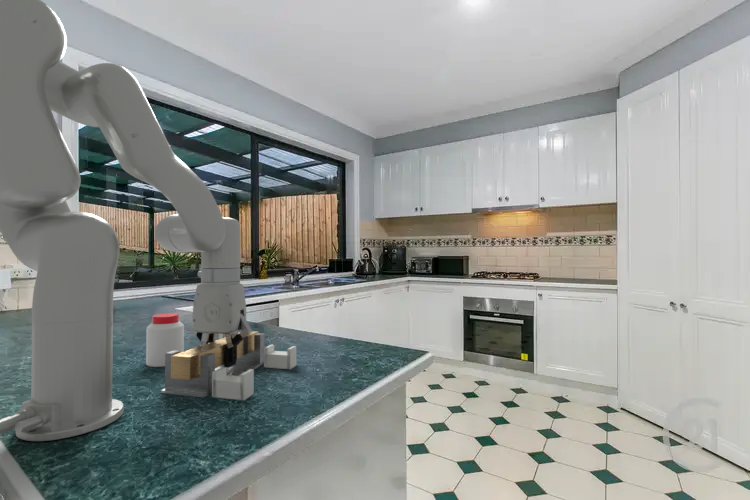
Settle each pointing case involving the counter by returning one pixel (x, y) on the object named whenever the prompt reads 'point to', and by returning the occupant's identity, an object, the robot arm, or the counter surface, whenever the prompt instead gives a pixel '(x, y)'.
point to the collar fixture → (203, 383)
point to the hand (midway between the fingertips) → (220, 364)
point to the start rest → (249, 375)
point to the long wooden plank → (189, 361)
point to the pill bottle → (163, 338)
